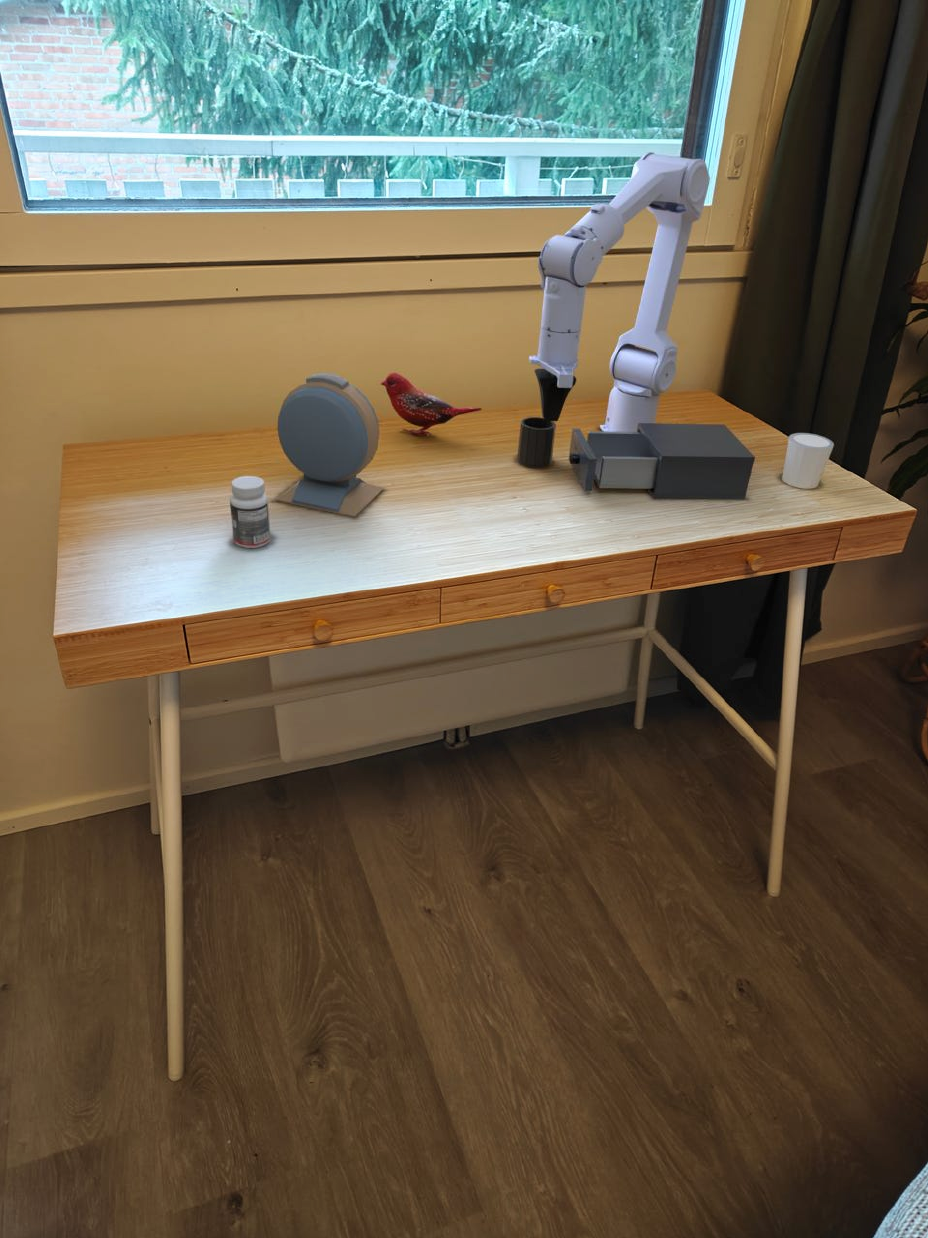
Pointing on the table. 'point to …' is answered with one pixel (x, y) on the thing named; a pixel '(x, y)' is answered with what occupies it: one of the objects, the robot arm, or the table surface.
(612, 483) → the drawer
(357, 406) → the alarm clock
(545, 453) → the dark grey faceted cup
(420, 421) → the decorative bird figurine
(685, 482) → the dark grey cabinet
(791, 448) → the white cylinder
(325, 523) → the table surface
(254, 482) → the pill bottle
